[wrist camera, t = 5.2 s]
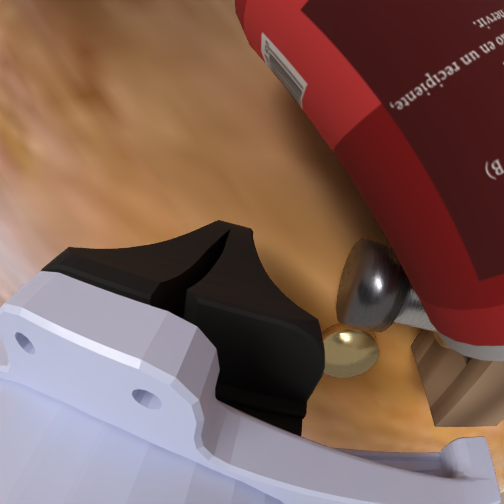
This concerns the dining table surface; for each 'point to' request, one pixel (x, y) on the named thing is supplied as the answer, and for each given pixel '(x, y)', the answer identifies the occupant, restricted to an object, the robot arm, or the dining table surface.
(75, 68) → the dining table surface
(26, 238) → the dining table surface
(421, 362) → the block
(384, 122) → the canned food
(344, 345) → the spacer
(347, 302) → the shaft
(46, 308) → the robot arm
